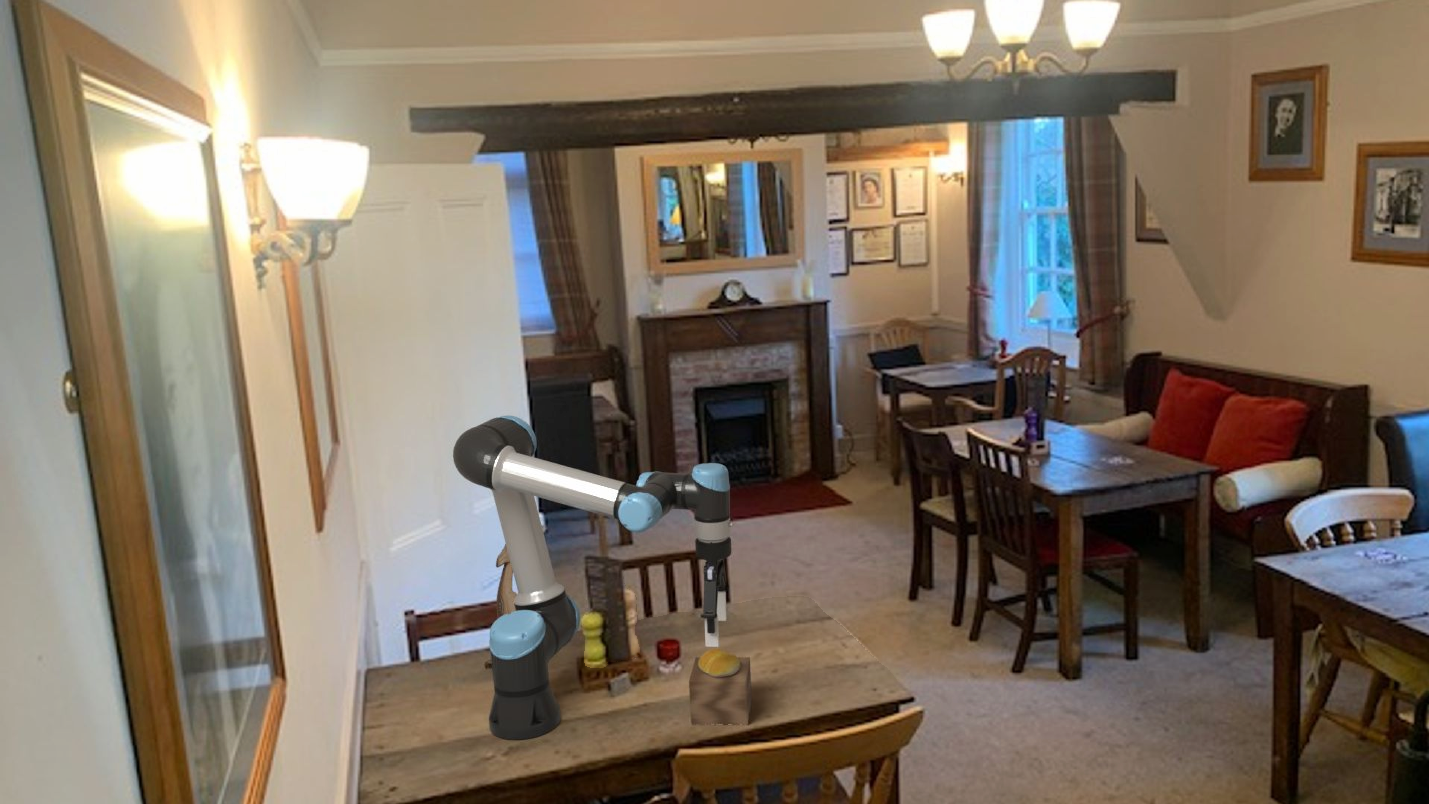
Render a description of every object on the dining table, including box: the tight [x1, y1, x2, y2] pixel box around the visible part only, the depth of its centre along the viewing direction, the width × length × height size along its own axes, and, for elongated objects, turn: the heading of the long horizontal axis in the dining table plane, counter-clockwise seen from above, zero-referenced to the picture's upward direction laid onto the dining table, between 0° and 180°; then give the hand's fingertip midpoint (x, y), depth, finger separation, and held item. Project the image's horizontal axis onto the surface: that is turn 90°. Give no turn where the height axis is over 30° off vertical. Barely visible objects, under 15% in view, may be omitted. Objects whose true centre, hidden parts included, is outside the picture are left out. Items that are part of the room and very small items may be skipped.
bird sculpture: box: [484, 543, 518, 669], centre depth 254 cm, size 11×12×32 cm
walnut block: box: [688, 656, 753, 726], centre depth 229 cm, size 12×12×10 cm
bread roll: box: [698, 648, 740, 677], centre depth 227 cm, size 8×9×4 cm
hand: (716, 632), depth 226 cm, fingers open, 13 cm apart
